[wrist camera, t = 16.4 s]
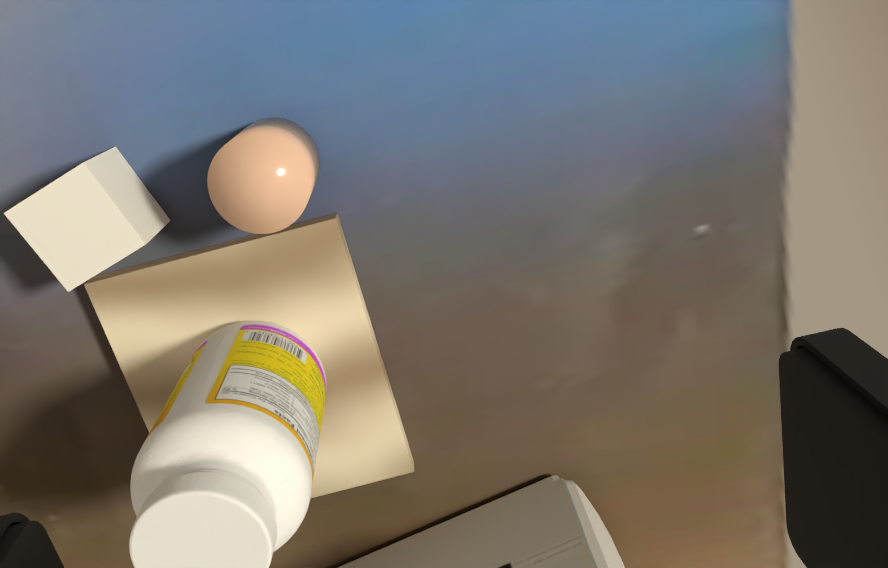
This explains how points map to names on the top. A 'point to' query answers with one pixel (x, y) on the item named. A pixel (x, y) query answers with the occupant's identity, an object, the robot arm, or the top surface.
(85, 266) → the off-white block
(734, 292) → the top surface
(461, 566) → the stereo radio cassette player
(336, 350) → the ash board
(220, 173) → the peach rounded capsule
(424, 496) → the top surface
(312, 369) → the supplement bottle
